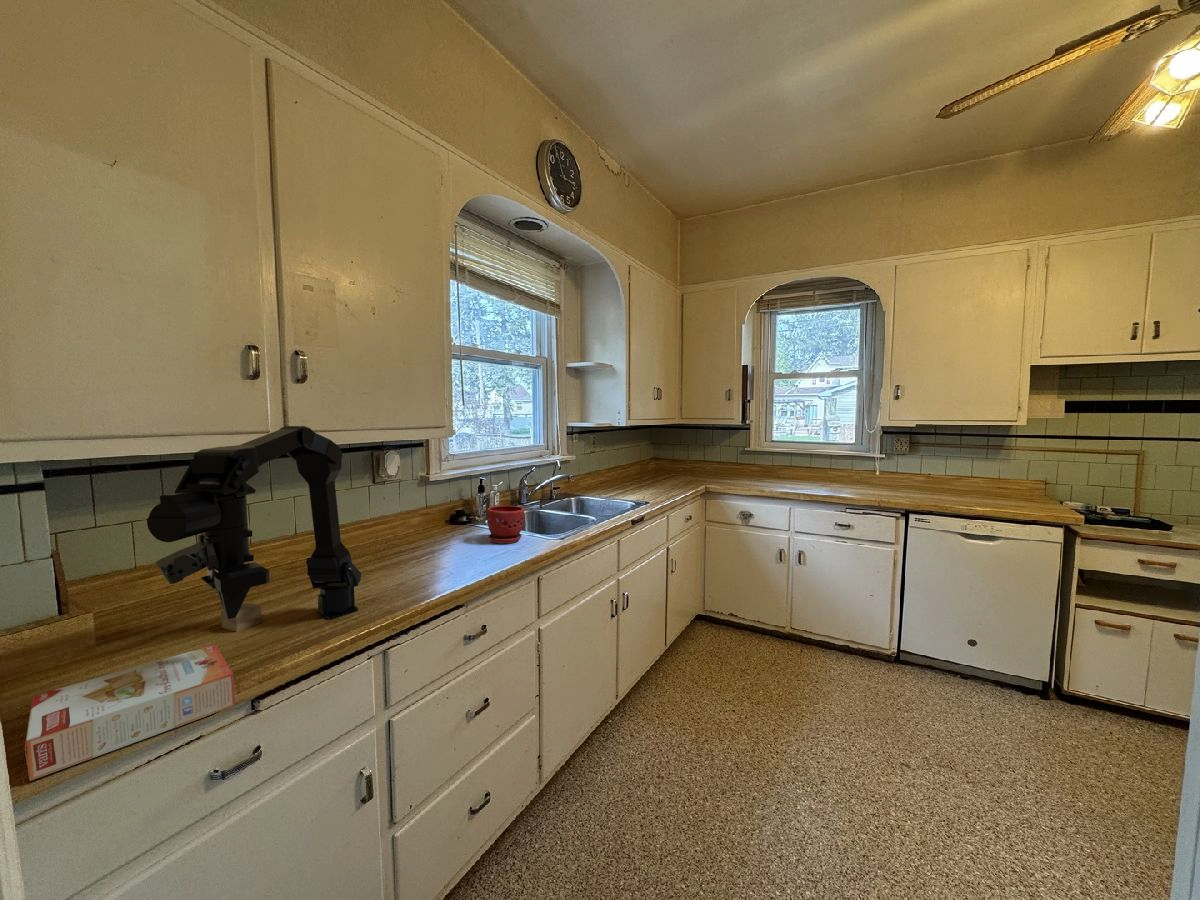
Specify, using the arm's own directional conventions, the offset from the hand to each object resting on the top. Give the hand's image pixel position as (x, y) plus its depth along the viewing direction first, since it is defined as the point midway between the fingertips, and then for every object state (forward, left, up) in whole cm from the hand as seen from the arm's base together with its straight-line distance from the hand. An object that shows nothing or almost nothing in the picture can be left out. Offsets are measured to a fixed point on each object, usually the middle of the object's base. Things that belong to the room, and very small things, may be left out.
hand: (231, 617), depth 78 cm
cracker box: (+1, 0, -9) cm, 9 cm away
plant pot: (-89, -35, -12) cm, 96 cm away
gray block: (-8, -27, -12) cm, 31 cm away
